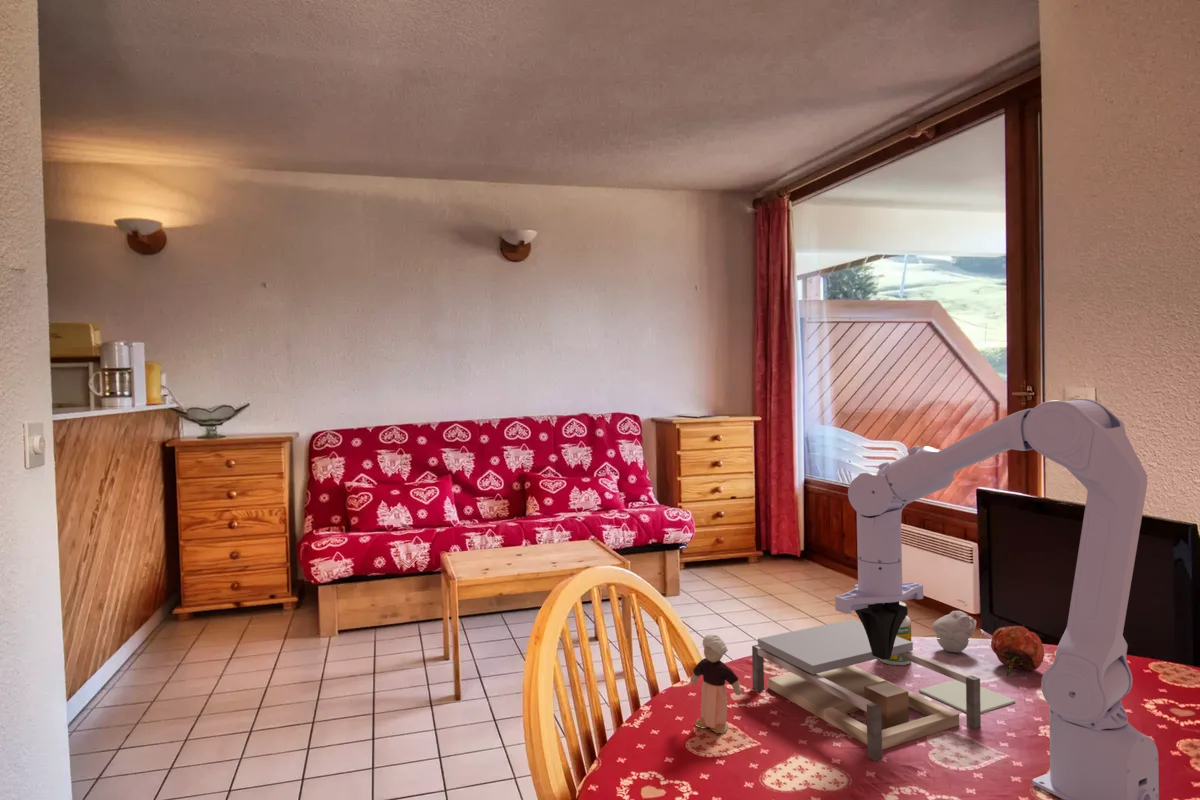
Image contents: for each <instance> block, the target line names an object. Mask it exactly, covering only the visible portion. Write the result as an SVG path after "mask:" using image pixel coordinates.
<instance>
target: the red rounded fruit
mask: <svg viewBox="0 0 1200 800" xmlns="http://www.w3.org/2000/svg"><path fill="white" fill-rule="evenodd" d="M1026 627H1027V626H1026V624H1022V625H1013V626H1010V625H1007V626H1003V627H1002V626H1001V627H999V628H997V629H996V630H995V631H994V632H993V634H992V637H991V643H990V648H991V649H992V652H993V653H994V654H995V655H996V657H997V660H998V661H999V662H1000V663H1001V664H1003V665H1004V666H1006V667H1009V666H1010V667H1009V668H1008V670H1007V673H1006V676H1007V677H1009V675H1010V674H1011V671H1012V670H1013V669H1014V668H1015V667H1016V669H1021V670H1024V671H1030V672H1031V671H1036V670H1038V669H1039V667H1040V666H1041V665H1042V663H1043V662H1044V657H1045V650H1044V649H1045V648H1044V645H1043V642H1042V639H1041V638H1040V637H1039V636H1038V635H1037V634H1036V633H1035V632H1033V631H1029V629H1028V628H1026Z"/></svg>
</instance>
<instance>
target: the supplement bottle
mask: <svg viewBox="0 0 1200 800" xmlns="http://www.w3.org/2000/svg"><path fill="white" fill-rule="evenodd" d="M899 605H903V606H905V607H907V603H905V602H904V601H899ZM896 636H898V637H900V638H903V639H905V640H908V641H911V642H912V621H911V619H910V617H909V616H908V615H907V616H906V617H905V619H904V620H903V622H902V624H901V626H900V628H899V630H898V633H897V635H896ZM911 652H913V650H912V651H911ZM878 660H879V661H880V662H882V663H884V664H886V665H891V666H896V665H900V666H901V665H902V666H907V664H908V665H909V664H911V663H912V662H911V661H909V660H906V659H904V658H901V657H899V656H896V655H891V657H890V658H889V659H885V660H882V659H880V658H879V659H878ZM900 666H899V667H900ZM902 666H901V667H902Z"/></svg>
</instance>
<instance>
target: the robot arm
mask: <svg viewBox="0 0 1200 800" xmlns="http://www.w3.org/2000/svg"><path fill="white" fill-rule="evenodd" d="M1124 423H1125V422H1123V420H1122V419H1120V418H1119V417H1118V416H1117V415H1115V413H1113V412H1112V411H1110V410H1109V409H1108V408H1107V407H1106V406H1104V405H1103V404H1102V403H1101V402H1099V401H1096V400H1093V399H1090V398H1075V399H1070V400H1056V399H1055V400H1049V401H1048V400H1047V401H1044V402H1041V403H1039V404H1037V405H1036V406H1035V407H1033V408H1026V409H1023V410H1018V411H1016V412H1014V413H1011V414H1009V415H1006V416H1004V417H1002V418H1000V419H998V420H996V421H994V422H992V423H990V424H989V425H987V426H986V425H985V427H983V428H980V429H979V430H977V431H975V432H973V433H971V434H969V435H967V436H965V437H964V438H962V439H959V440H958V441H956V442H954V443H953V444H950V445H949V446H946V447H944V448H942V449H938V448H936V447H932V446H929V445H928V446H927V445H925V446H923V447H921V446H920V445H916V446H913V447H910V448H908V449H907V455H906V456H905V455H904V457H903V456H902V457H901V458H898V459H897V460H895V461H892V462H891V463H889V462H888V461H887V462H882V463H881V464H879V465H878V470H877V471H876V472H861V473H859V474H858V475H857V476H856V477H855V478H853V479H852V481H851V482H850V484H849V486H848V489H847V490H848V491H847V496H848V497H847V499H848V501H849V504H850V505H851V507H852V508H853V510H854V511H855V512H856V539H857V540H856V542H857V543H856V545H857V549H856V551H857V584H854V589H851V590H849V591H847V592H845V593H843V594H839V595H835V596H834V603H835V605H834V607H835V611H837V612H839V613H842V614H845V615H847V614H848V615H849V614H851V613H852V611H854V612H855V614H856V615H857V616H858V619H859V620H860V622H861V623H862V624H863V626H864V629H865V631H866V634H867V637H868V640H869V644H870V647H871V651H872V655H873V656H875V657H878V658H880V659H882V660H885V659H889V658H890V657H891V654H892V650H893V646H894V642H895V639H896V635H897V633H898V630H899V628H900V626H901V624H902V622H903V620H904V619H905V617H906V616H908V612H909V611H908V607H907V606H906V607H905V606H903V605H899V601H900V602H904V601H909V600H913V599H915V600H923V599H924V585H923V584H920V583H916V582H914V581H913V582H912V581H910V582H903V554H902V553H903V551H902V550H903V549H902V512H903V509H904V508H905V507H906V506H907V505H908V504H911V503H913V502H916V501H917V500H921V499H923V498H924V497H927V496H930V495H931V494H934V493H937V492H938V491H941V490H943V489H946V488H948V487H950V486H951V484H952V483H953V479H954V477H955V474H956V472H958V471H961V470H963V469H965V468H966V469H967V468H969V467H971V466H973V465H976V464H978V463H980V462H984V461H985V460H988V459H990V458H993V457H995V456H997V455H1000V454H1003V453H1005V452H1007V451H1011V450H1013V451H1014V450H1015V451H1022V452H1025V451H1027V452H1028V451H1032V450H1035V452H1037V453H1038V454H1041V455H1042V456H1043V457H1045V458H1047V459H1048V460H1051V461H1053V462H1054V463H1055V464H1058V465H1060V466H1061V467H1064V468H1065V469H1066V470H1067V471H1068V472H1069V473H1070V474H1071V475H1072V476H1074V477H1075V479H1077V481H1078V482H1079V483H1080V484H1082V485H1083V486H1084V487H1085V489H1086V491H1087V493H1086V501H1085V507H1084V513H1083V519H1082V527H1081V533H1080V539H1079V546H1078V553H1077V559H1076V565H1075V571H1074V579H1073V585H1072V590H1071V591H1072V592H1071V598H1070V605H1069V612H1068V618H1067V624H1066V628H1065V630H1064V633H1063V634H1062V636H1061V638H1060V640H1059V643H1058V644H1057V647H1056V650H1055V656H1054V659H1053V662H1052V664H1051V665H1050V666H1049V667H1048V668H1047V669H1046V670H1045V671H1044V673H1043V674H1042V677H1041V680H1040V681H1041V683H1040V688H1041V692H1042V696H1043V698H1044V700H1045V701H1046V702H1047V704H1048V706H1049V712H1048V713H1049V767H1050V768H1049V772H1048V773H1044V774H1043V775H1040V776H1037V777H1035V778H1032V780H1031V781H1032V784H1033V785H1034V786H1036V787H1038V788H1040V789H1042V790H1044V791H1046V792H1048V793H1049V794H1052V795H1054V796H1055V797H1057V798H1060V799H1061V800H1159V799H1160V793H1159V792H1160V789H1159V788H1160V785H1159V782H1160V781H1159V779H1160V777H1159V776H1160V775H1159V774H1160V773H1159V767H1160V766H1159V750H1158V747H1157V745H1156V742H1155V740H1154V739H1153V738H1152V737H1149V736H1148V735H1146V734H1144V733H1142V732H1141V731H1139V730H1138V729H1137V728H1135V727H1134V726H1133V725H1131V723H1130V722H1128V720H1129V719H1128V718H1129V717H1128V714H1127V711H1126V709H1125V708H1124V705H1123V703H1122V699H1123V698H1124V697H1126V696H1127V695H1128V694H1129V693H1130V691H1131V689H1132V686H1133V680H1134V679H1133V675H1132V671H1131V668H1130V666H1129V664H1128V659H1127V653H1128V646H1129V644H1128V643H1127V640H1126V639H1125V637H1124V635H1123V634H1124V627H1125V623H1126V616H1127V610H1128V605H1129V604H1128V603H1129V597H1130V592H1131V585H1132V579H1133V573H1134V569H1135V561H1136V555H1137V550H1138V543H1139V537H1140V530H1141V526H1142V519H1143V513H1144V506H1145V499H1146V493H1147V487H1148V475H1147V472H1146V470H1145V468H1144V466H1143V465H1142V462H1141V461H1140V459H1139V456H1138V455H1137V453H1136V451H1135V449H1134V448H1133V445H1132V444H1131V441H1130V440H1129V438H1128V436H1127V434H1126V428H1125V424H1124Z"/></svg>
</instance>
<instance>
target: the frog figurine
mask: <svg viewBox="0 0 1200 800" xmlns="http://www.w3.org/2000/svg"><path fill="white" fill-rule="evenodd" d="M976 628H977V620H976V619H974V617H972V616H971V615H969V614H968V613H966V612H964V611H961V610H952V611H951V612H949V614H946V615H943V616H942V617H939V618H938V619H936V620H935V621H934V622H933V624H932V629H933V630H934V633H935V634H936V641H937V643H938V644H939V645H940V647H941V648H942V649H943V650H944V651H947V652H949V653H953V652H954V653H955V654H957V653H960V652H962V651H965V650H966V648H967V647H968V646H969V641H970V637H973V634H974V632H975V631H976ZM937 638H940V639H937ZM968 639H969V640H968Z"/></svg>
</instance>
